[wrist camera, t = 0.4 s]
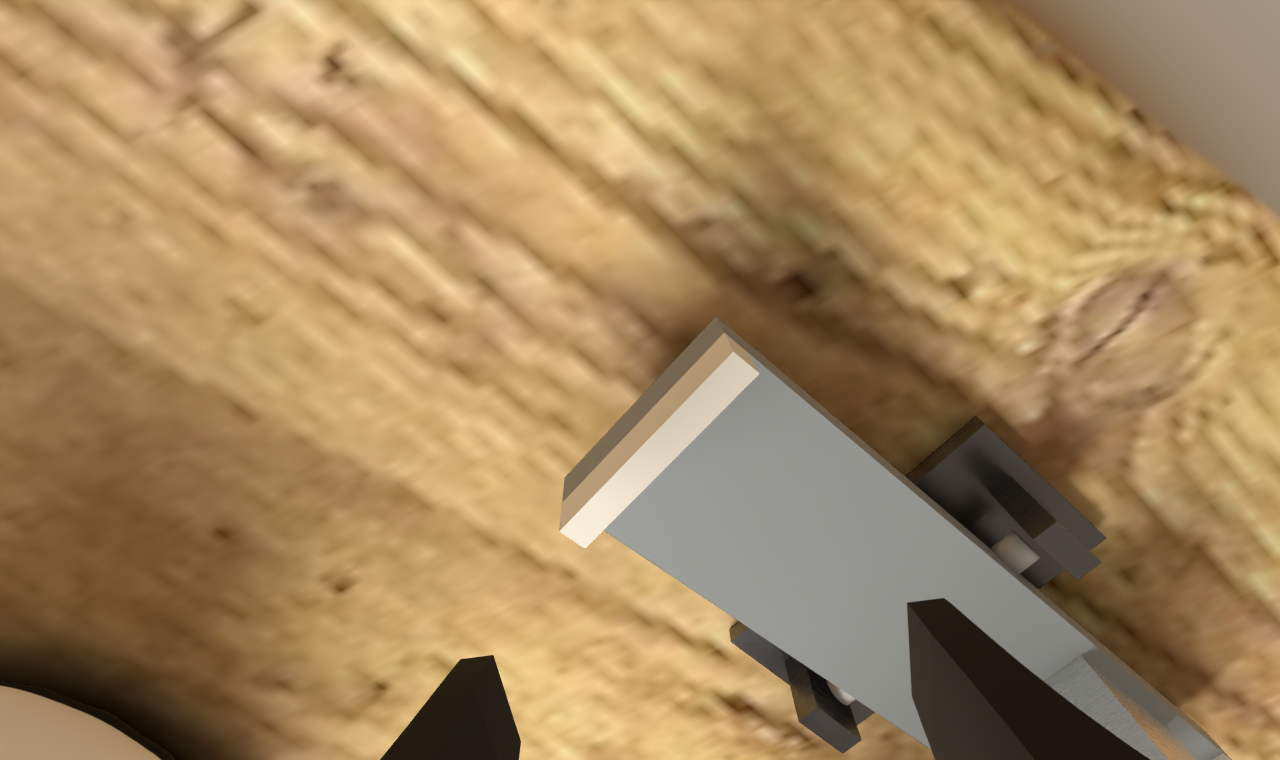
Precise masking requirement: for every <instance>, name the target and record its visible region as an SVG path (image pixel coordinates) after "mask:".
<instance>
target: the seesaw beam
mask: <svg viewBox="0 0 1280 760" xmlns="http://www.w3.org/2000/svg"><path fill="white" fill-rule="evenodd" d="M603 530H604V531H605V532H607V533H608V534H610V535H611V536H613V537H614V538H616V539H617V540H618V541H620V542H621V543H623V544H624V545H626V546H627V547H629V548H630V549H632V550H633V551H635V552H636V553H638V554H639V555H641V556H642V557H644V558H645V559H647V560H648V561H650V562H651V563H653V564H654V565H656V566H657V567H659V568H660V569H662V570H663V571H665V572H666V573H668V574H669V575H671V576H672V577H674V578H675V579H677V580H678V581H680V582H681V583H683V584H684V585H686V586H687V587H689V588H690V589H692V590H693V591H695V592H696V593H698V594H699V595H701V596H702V597H704V598H705V599H707V600H708V601H710V602H711V603H713V604H714V605H716V606H717V607H719V608H720V609H722V610H723V611H725V612H726V613H728V614H729V615H731V616H732V617H734V618H735V619H737V620H738V621H740V622H741V623H743V624H744V625H745V626H747V627H748V628H750V629H751V630H753V631H754V632H756V633H757V634H759V635H760V636H762V637H763V638H765V639H766V640H768V641H769V642H771V643H772V644H774V645H775V646H777V647H778V648H780V649H781V650H783V651H784V652H786V653H787V654H789V655H790V656H792V657H793V658H795V659H796V660H798V661H799V662H801V663H802V664H804V665H805V666H807V667H808V668H810V669H811V670H813V671H814V672H816V673H817V674H819V675H820V676H822V677H823V678H825V679H826V680H827V684H828V686H829V688H830V690H831V692H832V693H833V694H834V696H835V697H836V698H837V699H838V700H839V701H840V702H841V703H842V704H844V705H849V704H850V703H851V702H853V701H854V700H855V699H856V700H858V701H859V702H861V703H862V704H864V705H865V706H867V707H868V708H870V709H871V710H872V711H874V712H875V713H877V714H878V715H880V716H881V717H883V718H884V719H886V720H887V721H889V722H890V723H892V724H893V725H895V726H896V727H898V728H899V729H901V730H902V731H904V732H905V733H907V734H908V735H910V736H911V737H913V738H914V739H916V740H917V741H919V742H920V743H922V744H923V745H925V746H926V747H928V748H929V749H931V747H930V745H929V742H928V739H927V737H926V734H925V731H924V729H923V726H922V723H921V720H920V718H919V715H918V712H917V709H916V707H915V704H914V701H913V698H912V691H911V672H910V653H909V634H908V615H907V603H908V602H916V601H924V600H932V599H939V598H945V599H946V600H948V601H949V602H950V603H951V604H953V605H954V606H955V607H956V608H957V609H958V610H959V611H961V612H962V613H963V614H964V615H965V616H966V617H967V618H969V619H970V620H971V621H972V622H973V623H974V624H976V625H977V626H978V627H979V628H980V629H981V630H982V631H984V632H985V633H986V634H987V635H988V636H989V637H991V638H992V639H993V640H994V641H995V642H996V643H998V644H999V645H1000V646H1001V647H1002V648H1004V649H1005V650H1006V651H1007V652H1008V653H1009V654H1011V655H1012V656H1013V657H1014V658H1015V659H1017V660H1018V661H1019V662H1020V663H1021V664H1023V665H1024V666H1025V667H1026V668H1028V669H1029V670H1030V671H1031V672H1033V673H1034V674H1035V675H1036V676H1038V677H1039V678H1040V679H1041V680H1043V681H1044V680H1045V679H1047V678H1048V677H1050V676H1051V675H1053V674H1054V673H1055V672H1057V671H1058V670H1060V669H1061V668H1063V667H1064V666H1065V665H1067V664H1068V663H1070V662H1071V661H1073V660H1074V659H1075V658H1077V657H1078V656H1080V655H1081V656H1083V657H1084V658H1085V659H1086V660H1087V661H1089V662H1090V663H1091V664H1092V665H1093V666H1095V667H1096V668H1097V669H1098V670H1100V671H1101V672H1102V673H1103V674H1104V675H1106V676H1107V677H1108V678H1109V679H1110V680H1112V681H1113V682H1114V683H1115V684H1116V685H1118V686H1119V687H1120V688H1121V689H1123V690H1124V691H1125V692H1126V693H1127V694H1129V695H1130V696H1131V697H1132V698H1133V699H1135V700H1136V701H1137V702H1138V703H1139V704H1141V705H1142V706H1143V707H1144V708H1146V709H1147V710H1148V711H1149V712H1150V713H1152V714H1153V715H1154V716H1155V717H1156V718H1158V719H1159V720H1160V721H1161V722H1162V723H1164V724H1165V725H1166V726H1167V727H1168V728H1169V729H1170V730H1171V731H1172V733H1173V734H1174V735H1175V736H1176V737H1177V738H1178V739H1179V741H1180V742H1181V743H1182V744H1183V745H1184V746H1185V747H1186V749H1187V750H1188V751H1189V752H1190V753H1191V754H1192V755H1193V757H1194V758H1195V759H1196V760H1231V759H1230V757H1229V756H1228V755H1227V754H1226V753H1225V752H1224V751H1223V750H1222V749H1221V748H1220V747H1219V746H1218V745H1217V743H1216V742H1215V741H1214V740H1213V739H1212V738H1211V737H1210V736H1209V735H1208V734H1207V733H1206V732H1205V731H1204V730H1203V729H1202V728H1201V727H1199V726H1198V725H1197V724H1196V723H1195V722H1194V721H1192V720H1191V719H1190V718H1189V717H1188V716H1187V715H1185V714H1184V713H1183V712H1182V711H1181V710H1179V709H1178V708H1177V707H1176V706H1175V705H1174V704H1172V703H1171V702H1170V701H1169V700H1168V699H1167V698H1165V697H1164V696H1163V695H1162V694H1161V693H1159V692H1158V691H1157V690H1156V689H1155V688H1154V687H1152V686H1151V685H1150V684H1149V683H1148V682H1147V681H1145V680H1144V679H1143V678H1142V677H1141V676H1139V675H1138V674H1137V673H1136V672H1135V671H1134V670H1132V669H1131V668H1130V667H1129V666H1128V665H1126V664H1125V663H1124V662H1123V661H1122V660H1121V659H1119V658H1118V657H1117V656H1116V655H1115V654H1114V653H1112V652H1111V651H1110V650H1109V649H1108V648H1106V647H1105V646H1104V645H1103V644H1102V643H1101V642H1099V641H1098V640H1097V639H1096V638H1095V637H1094V636H1092V635H1091V634H1090V633H1089V632H1088V631H1086V630H1085V629H1084V628H1083V627H1082V626H1081V625H1079V624H1078V623H1077V622H1076V621H1075V620H1074V619H1072V618H1071V617H1070V616H1069V615H1068V614H1066V613H1065V612H1064V611H1063V610H1062V609H1061V608H1059V607H1058V606H1057V605H1056V604H1055V603H1054V602H1052V601H1051V600H1050V599H1049V598H1048V597H1046V596H1045V595H1044V594H1043V593H1042V592H1041V591H1039V590H1038V589H1037V588H1036V587H1035V586H1033V585H1032V584H1031V583H1030V582H1029V581H1028V580H1026V579H1025V578H1024V577H1023V576H1022V575H1021V574H1020V573H1021V572H1023V571H1024V570H1025V569H1026V568H1028V567H1029V566H1030V565H1032V564H1033V563H1034V562H1036V561H1037V560H1038V559H1040V556H1039V555H1038V554H1037V553H1036V552H1035V551H1034V550H1033V549H1032V548H1031V547H1030V546H1029V545H1028V544H1027V543H1026V542H1025V541H1024V540H1023V539H1022V538H1021V537H1020V536H1019V535H1018V534H1017V533H1015V532H1014V531H1012V532H1010V533H1009V534H1008V535H1007V536H1005V537H1004V538H1003V539H1001V540H1000V541H999V542H998V543H996V544H995V545H994V546H993V547H991V548H992V550H993V551H994V552H993V551H992V550H991V549H990V548H989V547H988V546H986V545H985V544H984V543H983V542H982V541H981V540H979V539H978V538H977V537H976V536H975V535H973V534H972V533H971V532H970V531H969V530H968V529H966V528H965V527H964V526H963V525H962V524H961V523H959V522H958V521H957V520H956V519H955V518H953V517H952V516H951V515H950V514H949V513H948V512H946V511H945V510H944V509H943V508H942V507H940V506H939V505H938V504H937V503H936V502H935V501H933V500H932V499H931V498H930V497H929V496H928V495H926V494H925V493H924V492H923V491H922V490H920V489H919V488H918V487H917V486H916V485H915V484H913V483H912V482H911V481H910V480H909V479H908V478H906V477H905V476H904V475H903V474H902V473H900V472H899V471H898V470H897V469H896V468H895V467H893V466H892V465H891V464H890V463H889V462H888V461H886V460H885V459H884V458H883V457H882V456H880V455H879V454H878V453H877V452H876V451H875V450H873V449H872V448H871V447H870V446H869V445H868V444H866V443H865V442H864V441H863V440H862V439H860V438H859V437H858V436H857V435H856V434H855V433H853V432H852V431H851V430H850V429H849V428H847V427H846V426H845V425H844V424H843V423H842V422H840V421H839V420H838V419H837V418H836V417H835V416H833V415H832V414H831V413H830V412H829V411H827V410H826V409H825V408H824V407H823V406H822V405H820V404H819V403H818V402H817V401H816V400H815V399H813V398H812V397H811V396H810V395H809V394H807V393H806V392H805V391H804V390H803V389H802V388H800V387H799V386H798V385H797V384H796V383H795V382H793V381H792V380H791V379H790V378H789V377H787V376H786V375H785V374H784V373H783V372H782V371H780V370H779V369H778V368H777V367H776V366H775V365H773V364H772V363H771V362H770V361H769V360H767V359H766V358H765V357H764V356H763V355H762V354H760V353H759V352H758V351H757V350H756V349H754V348H753V347H752V346H751V345H750V344H749V343H747V342H746V341H745V340H744V339H743V338H742V337H740V336H739V335H738V334H737V333H736V332H734V331H733V330H732V329H731V328H730V327H729V326H727V325H726V324H725V323H724V322H723V321H722V320H720V319H719V318H718V317H717V316H716V317H715V318H714V319H713V320H712V321H711V322H710V323H709V324H708V325H707V326H706V328H705V329H704V330H703V331H702V332H701V333H700V334H699V335H698V336H697V337H696V338H695V339H694V340H693V341H692V342H691V344H690V345H689V346H688V347H687V348H686V349H685V350H684V351H683V352H682V353H681V354H680V355H679V356H678V357H677V358H676V360H675V361H674V362H673V363H672V364H671V365H670V366H669V367H668V368H667V369H666V370H665V371H664V372H663V373H662V374H661V376H660V377H659V378H658V379H657V380H656V381H655V382H654V383H653V384H652V385H651V386H650V387H649V388H648V389H647V390H646V392H645V393H644V394H643V395H642V396H641V397H640V398H639V399H638V400H637V401H636V402H635V403H634V404H633V405H632V406H631V408H630V409H629V410H628V411H627V412H626V413H625V414H624V415H623V416H622V417H621V418H620V419H619V420H618V421H617V422H616V423H615V425H614V426H613V427H612V428H611V429H610V430H609V431H608V432H607V433H606V434H605V435H604V436H603V437H602V438H601V439H600V441H599V442H598V443H597V444H596V445H595V446H594V447H593V448H592V449H591V450H590V451H589V452H588V453H587V454H586V455H585V457H584V458H583V459H582V460H581V461H580V462H579V463H578V464H577V465H576V466H575V467H574V468H573V469H572V470H571V471H570V473H569V474H568V475H567V476H566V477H565V481H564V490H563V500H562V509H561V518H560V528H559V532H560V533H562V534H563V535H565V536H567V537H568V538H570V539H571V540H573V541H574V542H576V543H577V544H579V545H580V546H582V547H583V548H586V547H587V546H588V545H589V544H590V543H591V542H592V541H593V540H594V539H595V538H596V537H597V536H598V535H599V534H600V533H601V532H602V531H603Z"/></svg>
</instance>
